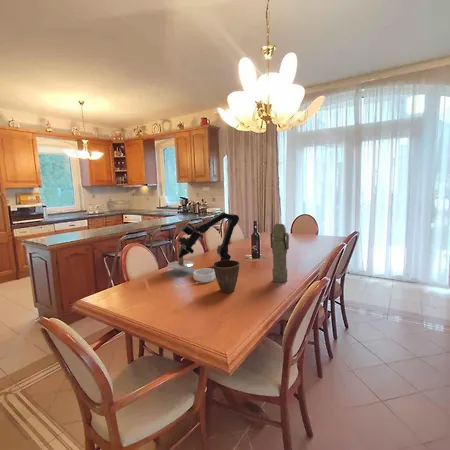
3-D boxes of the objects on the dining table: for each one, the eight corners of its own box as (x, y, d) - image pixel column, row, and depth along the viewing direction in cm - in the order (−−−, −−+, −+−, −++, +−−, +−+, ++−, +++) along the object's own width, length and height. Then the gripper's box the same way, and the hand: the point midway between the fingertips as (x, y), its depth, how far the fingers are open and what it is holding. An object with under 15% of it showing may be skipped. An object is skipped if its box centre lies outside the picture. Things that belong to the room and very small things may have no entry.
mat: (197, 268, 207) (197, 267, 206) (193, 278, 187) (193, 276, 187) (170, 269, 208) (170, 268, 207) (163, 279, 188) (163, 277, 188)
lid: (189, 260, 208) (188, 244, 206) (197, 266, 191) (196, 248, 190) (165, 263, 201) (163, 247, 199) (170, 270, 185) (169, 252, 183)
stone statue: (286, 284, 168) (285, 226, 163) (268, 281, 175) (267, 224, 170) (292, 279, 176) (291, 223, 170) (274, 276, 182) (273, 222, 177)
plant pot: (232, 297, 153) (230, 269, 150) (209, 293, 161) (207, 265, 158) (245, 288, 165) (244, 261, 163) (223, 284, 173) (222, 258, 171)
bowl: (216, 275, 191) (216, 268, 190) (214, 282, 177) (214, 274, 176) (195, 275, 191) (195, 268, 191) (192, 283, 178) (191, 275, 177)
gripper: (180, 230, 203) (166, 247, 200) (187, 234, 186) (172, 253, 183) (192, 239, 207) (178, 256, 205) (200, 244, 190) (185, 263, 188)
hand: (178, 257), depth 195 cm, fingers closed on lid, 3 cm apart
